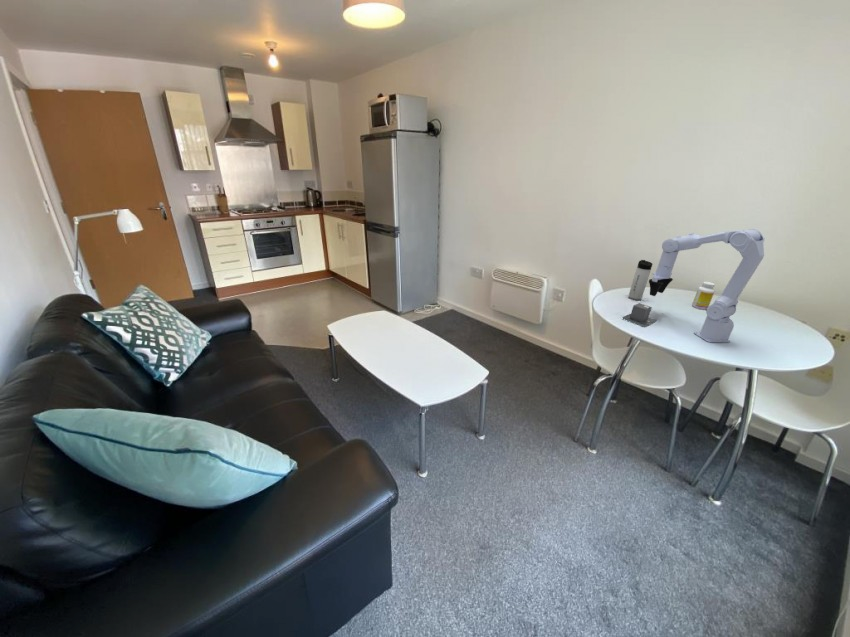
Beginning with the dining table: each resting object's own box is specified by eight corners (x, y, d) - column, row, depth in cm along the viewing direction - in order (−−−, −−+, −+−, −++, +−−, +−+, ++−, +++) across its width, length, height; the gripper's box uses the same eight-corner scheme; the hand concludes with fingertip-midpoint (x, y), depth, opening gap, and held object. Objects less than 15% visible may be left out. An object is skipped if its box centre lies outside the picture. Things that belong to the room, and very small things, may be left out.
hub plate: (633, 314, 166) (635, 305, 164) (655, 322, 159) (658, 313, 157) (622, 318, 161) (624, 309, 159) (644, 327, 154) (647, 318, 152)
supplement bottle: (710, 310, 175) (720, 285, 169) (697, 309, 175) (707, 285, 169) (701, 304, 181) (710, 281, 175) (688, 304, 181) (697, 280, 175)
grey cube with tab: (635, 315, 163) (639, 302, 160) (647, 319, 159) (652, 306, 157) (629, 317, 160) (633, 304, 158) (641, 321, 156) (646, 308, 154)
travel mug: (637, 296, 189) (649, 260, 180) (643, 301, 183) (655, 263, 174) (625, 295, 189) (636, 259, 181) (631, 300, 183) (642, 262, 175)
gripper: (663, 261, 164) (654, 288, 170) (648, 265, 156) (639, 294, 162) (680, 264, 159) (670, 293, 164) (666, 269, 151) (656, 299, 157)
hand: (656, 293), depth 163 cm, fingers open, 7 cm apart
